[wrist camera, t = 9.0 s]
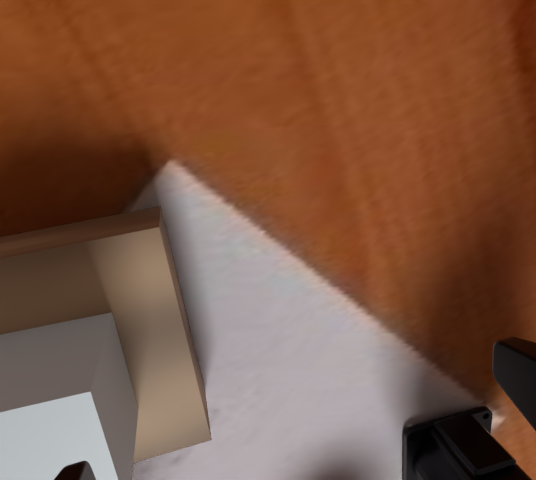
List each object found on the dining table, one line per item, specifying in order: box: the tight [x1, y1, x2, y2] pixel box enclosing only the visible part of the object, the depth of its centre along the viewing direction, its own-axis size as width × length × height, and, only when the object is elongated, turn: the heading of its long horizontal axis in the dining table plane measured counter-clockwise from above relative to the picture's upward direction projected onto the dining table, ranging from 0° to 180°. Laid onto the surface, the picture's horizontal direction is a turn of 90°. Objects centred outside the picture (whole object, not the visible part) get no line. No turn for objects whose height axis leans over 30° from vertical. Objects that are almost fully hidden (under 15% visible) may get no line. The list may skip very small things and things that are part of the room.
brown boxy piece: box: [0, 206, 211, 463], centre depth 19 cm, size 11×11×4 cm
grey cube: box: [0, 312, 138, 480], centre depth 15 cm, size 5×5×5 cm
